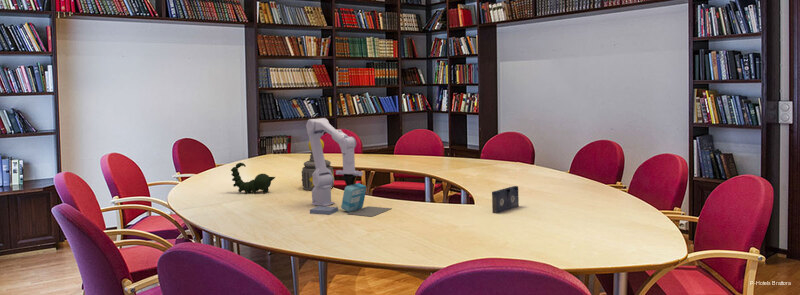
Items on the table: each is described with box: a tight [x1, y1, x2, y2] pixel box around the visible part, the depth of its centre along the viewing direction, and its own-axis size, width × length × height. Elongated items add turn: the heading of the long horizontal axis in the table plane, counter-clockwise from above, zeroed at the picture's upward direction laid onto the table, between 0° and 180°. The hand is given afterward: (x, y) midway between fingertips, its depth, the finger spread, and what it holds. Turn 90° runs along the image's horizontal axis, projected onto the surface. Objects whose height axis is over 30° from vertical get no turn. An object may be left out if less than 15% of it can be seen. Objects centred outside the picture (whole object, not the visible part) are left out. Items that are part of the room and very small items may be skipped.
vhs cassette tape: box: [491, 185, 520, 214], centre depth 293 cm, size 18×3×10 cm, turn 135°
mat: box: [347, 205, 392, 218], centre depth 300 cm, size 14×18×1 cm
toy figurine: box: [230, 162, 276, 195], centre depth 360 cm, size 9×19×25 cm
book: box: [309, 205, 339, 216], centre depth 302 cm, size 11×8×2 cm
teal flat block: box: [341, 182, 367, 213], centre depth 304 cm, size 12×4×12 cm, turn 146°
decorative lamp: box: [301, 138, 335, 192], centre depth 367 cm, size 19×19×30 cm
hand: (350, 189), depth 304 cm, fingers closed
